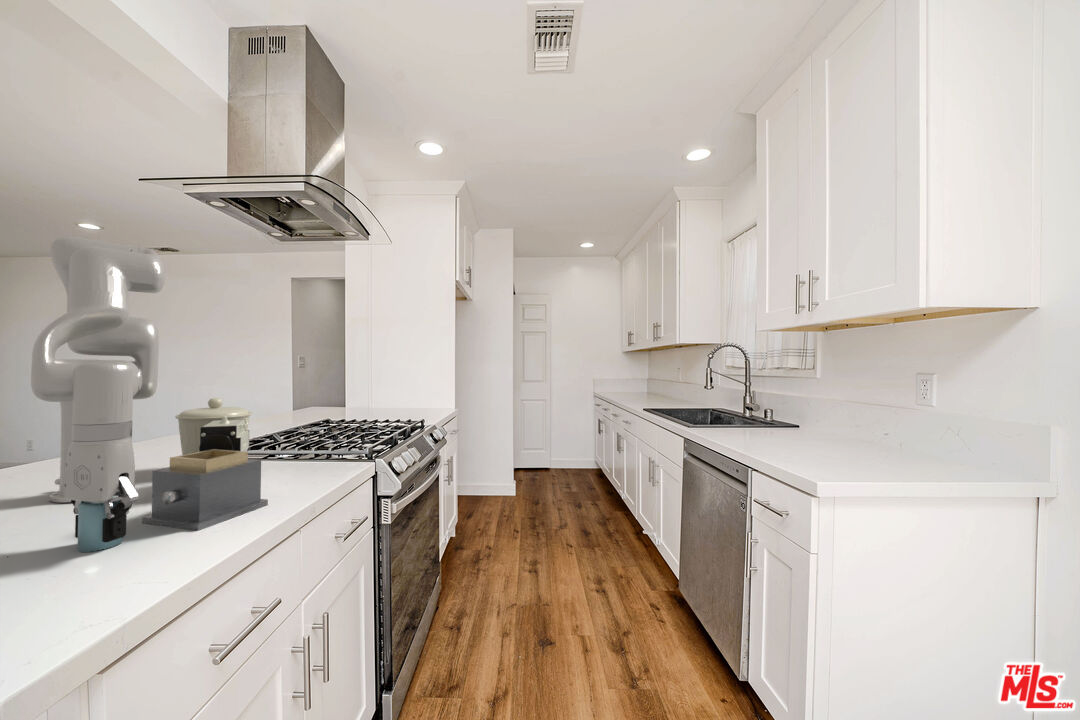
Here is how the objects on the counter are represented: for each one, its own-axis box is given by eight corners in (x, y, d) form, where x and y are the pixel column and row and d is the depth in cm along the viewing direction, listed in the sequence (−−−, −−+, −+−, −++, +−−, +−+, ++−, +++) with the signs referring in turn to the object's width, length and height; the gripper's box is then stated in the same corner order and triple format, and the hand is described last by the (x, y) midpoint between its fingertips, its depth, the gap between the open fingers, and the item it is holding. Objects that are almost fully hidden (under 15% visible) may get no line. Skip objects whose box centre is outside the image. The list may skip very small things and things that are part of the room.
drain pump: (68, 549, 76) (69, 498, 76) (116, 534, 83) (117, 487, 83) (93, 553, 75) (94, 501, 75) (139, 537, 81) (140, 489, 81)
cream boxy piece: (239, 492, 110) (240, 419, 110) (196, 496, 106) (198, 421, 106) (251, 475, 126) (252, 412, 126) (214, 478, 123) (215, 413, 123)
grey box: (138, 524, 88) (140, 460, 88) (218, 499, 104) (219, 445, 104) (194, 531, 85) (196, 465, 85) (267, 504, 101) (268, 449, 101)
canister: (156, 476, 123) (158, 399, 123) (213, 462, 141) (214, 395, 141) (215, 480, 121) (216, 401, 121) (265, 465, 139) (266, 396, 139)
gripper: (39, 433, 77) (37, 539, 76) (114, 439, 72) (112, 552, 72) (92, 427, 84) (90, 524, 84) (163, 432, 80) (161, 534, 80)
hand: (100, 536), depth 78 cm, fingers closed on drain pump, 5 cm apart
